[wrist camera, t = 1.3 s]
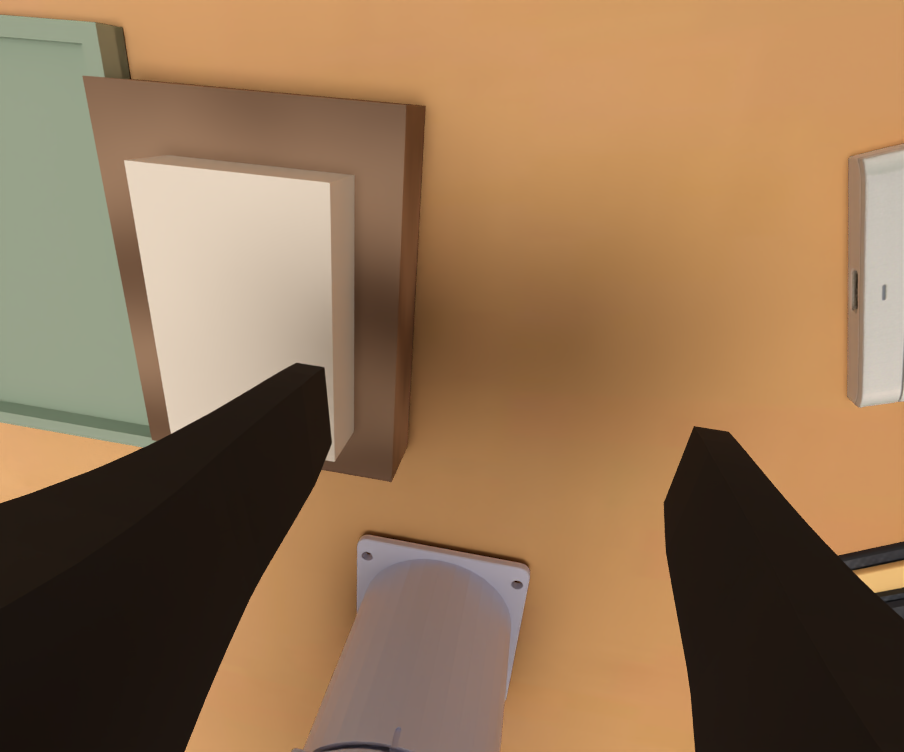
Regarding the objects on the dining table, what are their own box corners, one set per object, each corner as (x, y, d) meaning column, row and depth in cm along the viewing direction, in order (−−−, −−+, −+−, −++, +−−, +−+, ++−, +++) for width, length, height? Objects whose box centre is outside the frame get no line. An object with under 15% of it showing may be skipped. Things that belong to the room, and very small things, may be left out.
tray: (186, 437, 25) (170, 452, 24) (-29, 400, 27) (-54, 412, 25) (122, 27, 18) (95, 22, 17) (-168, 4, 19) (-210, -2, 18)
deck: (407, 446, 23) (391, 481, 21) (188, 410, 25) (151, 440, 22) (425, 105, 18) (406, 105, 15) (138, 79, 19) (82, 75, 17)
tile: (353, 431, 20) (334, 462, 19) (203, 406, 21) (170, 433, 19) (354, 175, 16) (329, 182, 15) (168, 154, 17) (124, 159, 15)
